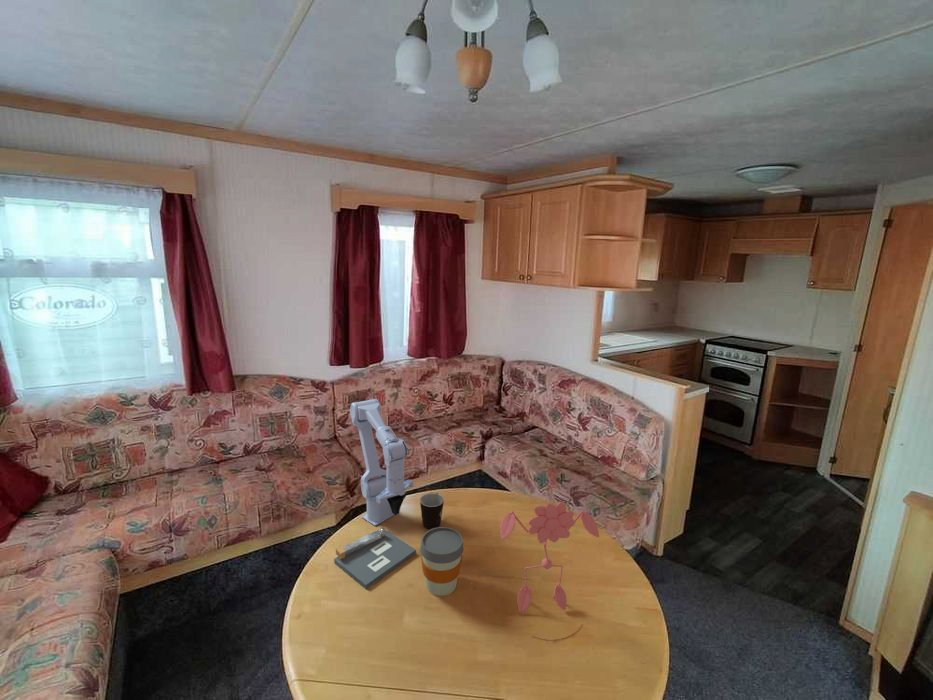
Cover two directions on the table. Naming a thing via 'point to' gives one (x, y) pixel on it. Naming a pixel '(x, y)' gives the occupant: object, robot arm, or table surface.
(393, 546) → the label panel
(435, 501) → the coffee mug
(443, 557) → the reusable coffee cup
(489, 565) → the table surface
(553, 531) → the figurine
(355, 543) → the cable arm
